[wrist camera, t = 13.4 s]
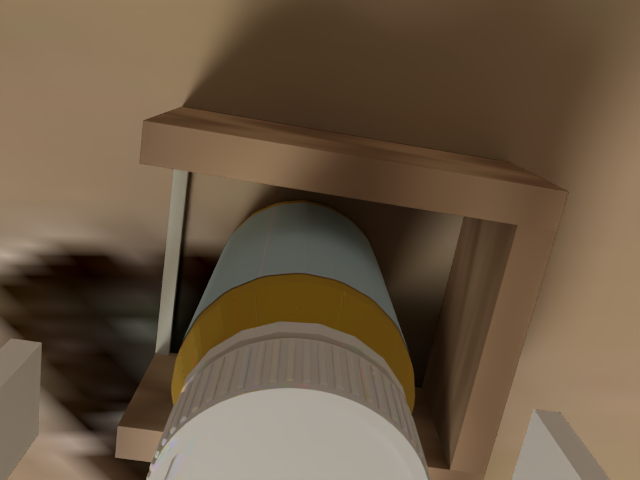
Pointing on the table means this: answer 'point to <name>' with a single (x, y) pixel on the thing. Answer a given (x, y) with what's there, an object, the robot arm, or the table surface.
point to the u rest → (396, 189)
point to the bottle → (293, 361)
